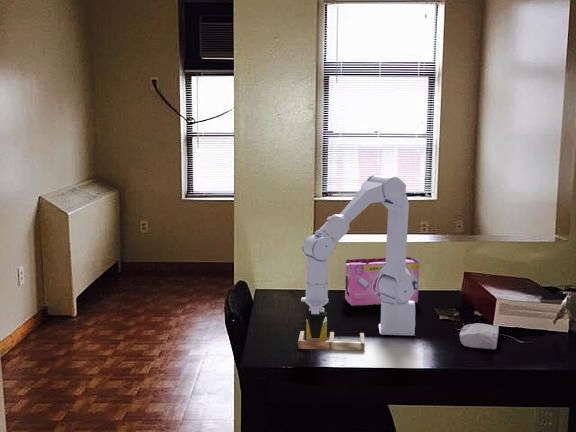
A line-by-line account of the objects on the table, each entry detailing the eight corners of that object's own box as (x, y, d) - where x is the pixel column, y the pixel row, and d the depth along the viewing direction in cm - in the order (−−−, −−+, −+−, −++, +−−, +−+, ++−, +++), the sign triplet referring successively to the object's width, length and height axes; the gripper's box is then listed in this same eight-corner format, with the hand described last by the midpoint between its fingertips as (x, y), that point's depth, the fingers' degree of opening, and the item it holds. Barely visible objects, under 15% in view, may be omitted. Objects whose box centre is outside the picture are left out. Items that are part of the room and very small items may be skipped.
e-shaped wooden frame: (363, 340, 171) (363, 333, 170) (364, 350, 163) (364, 343, 163) (300, 338, 172) (300, 330, 172) (298, 348, 164) (298, 341, 164)
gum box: (347, 306, 202) (347, 264, 200) (340, 299, 209) (341, 259, 207) (418, 302, 206) (419, 261, 204) (409, 296, 214) (410, 256, 212)
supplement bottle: (325, 348, 165) (325, 311, 163) (304, 346, 166) (304, 310, 164) (328, 341, 170) (328, 305, 169) (308, 339, 171) (308, 304, 170)
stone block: (460, 353, 167) (499, 350, 163) (457, 335, 167) (496, 332, 163) (463, 340, 178) (500, 337, 174) (460, 323, 178) (498, 320, 174)
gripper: (303, 274, 172) (303, 323, 174) (299, 289, 158) (299, 341, 160) (329, 275, 171) (328, 324, 173) (327, 289, 157) (327, 342, 159)
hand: (316, 332), depth 167 cm, fingers open, 7 cm apart
